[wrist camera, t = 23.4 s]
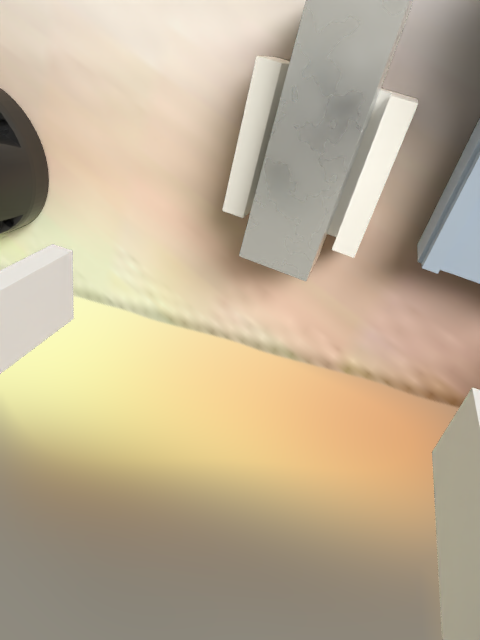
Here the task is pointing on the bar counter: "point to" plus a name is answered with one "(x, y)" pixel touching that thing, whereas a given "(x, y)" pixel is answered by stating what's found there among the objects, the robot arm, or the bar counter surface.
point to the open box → (456, 220)
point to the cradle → (364, 175)
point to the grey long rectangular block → (320, 127)
